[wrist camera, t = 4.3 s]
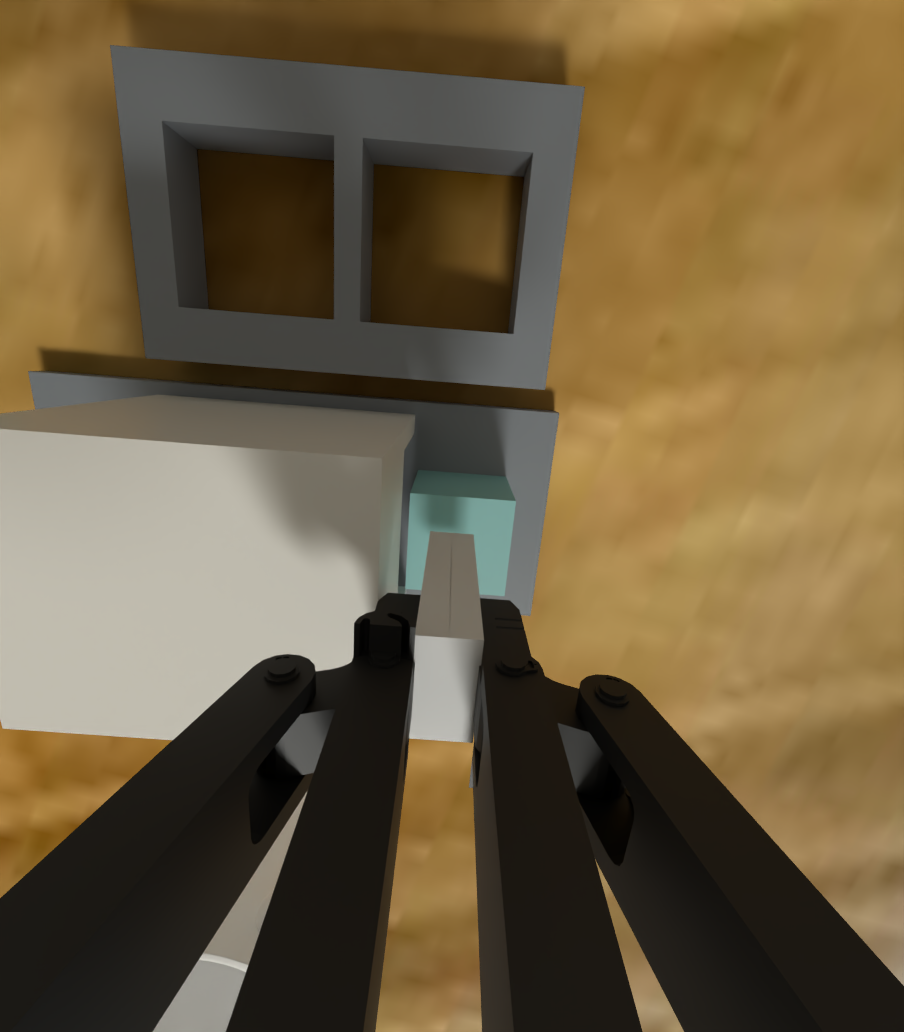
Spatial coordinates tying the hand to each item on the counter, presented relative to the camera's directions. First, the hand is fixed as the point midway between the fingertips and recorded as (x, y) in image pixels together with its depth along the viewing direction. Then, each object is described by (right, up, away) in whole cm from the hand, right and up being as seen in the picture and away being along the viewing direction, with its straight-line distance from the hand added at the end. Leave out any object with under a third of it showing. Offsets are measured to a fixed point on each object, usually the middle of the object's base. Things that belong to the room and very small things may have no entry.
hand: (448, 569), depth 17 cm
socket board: (-4, +13, +3) cm, 14 cm away
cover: (-7, +2, +5) cm, 9 cm away
